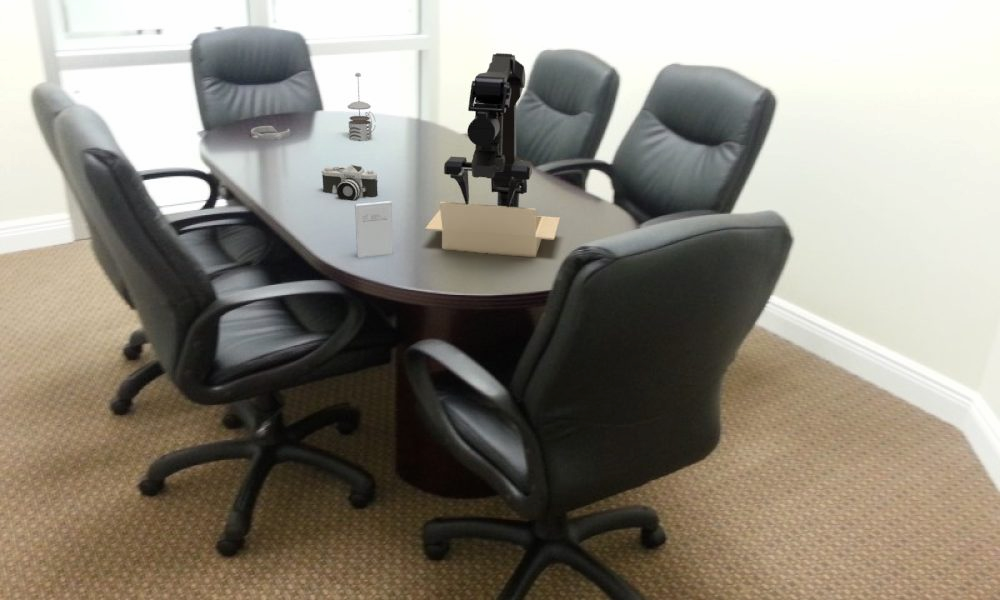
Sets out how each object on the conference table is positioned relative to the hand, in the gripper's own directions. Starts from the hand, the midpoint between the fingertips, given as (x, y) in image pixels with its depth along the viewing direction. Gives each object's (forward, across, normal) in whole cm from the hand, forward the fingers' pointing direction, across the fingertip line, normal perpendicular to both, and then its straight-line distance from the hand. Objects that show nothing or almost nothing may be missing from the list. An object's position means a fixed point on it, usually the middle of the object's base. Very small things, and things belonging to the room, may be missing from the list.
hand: (487, 205), depth 180 cm
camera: (+13, -46, +38) cm, 60 cm away
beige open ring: (+13, -94, +98) cm, 136 cm away
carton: (+12, 0, +11) cm, 16 cm away
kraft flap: (+7, 0, +3) cm, 8 cm away
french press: (+13, -62, +103) cm, 121 cm away
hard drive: (+13, -25, -4) cm, 28 cm away
